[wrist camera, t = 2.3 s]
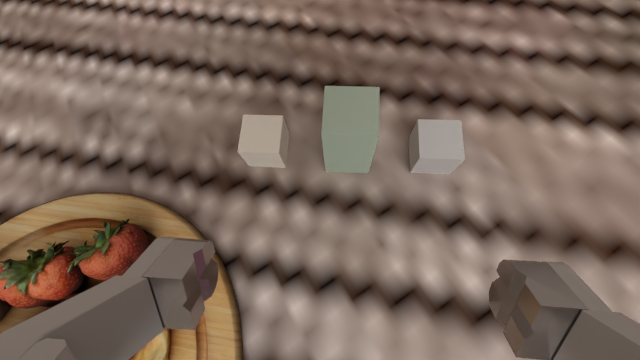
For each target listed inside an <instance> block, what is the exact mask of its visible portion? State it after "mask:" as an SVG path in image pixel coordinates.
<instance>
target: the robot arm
mask: <svg viewBox="0 0 640 360" xmlns="http://www.w3.org/2000/svg"><path fill="white" fill-rule="evenodd" d="M214 253H215V249H214V244H213V242H211V241H210V240H199V239H187V238H173V237H159V238H156V239H155V240H154V241H153V242H152V244H151V245H150V246H149V247H148V248H147V249H146V250H145V251H144V252H143V253H142V254H141V256H140V257H139V258H138V259H137V260H136V261H135V262H134V263H133V264H132V265H131V267H130V268H129V269H128V270H127V271H126V272H125V273H124V274H123V275H122V276H115V277H113V278H110V279H108V280H106V281H104V282H102V283H100V284H98V285H96V286H94V287H92V288H90V289H88V290H86V291H84V292H82V293H80V294H78V295H76V296H74V297H72V298H70V299H68V300H66V301H64V302H62V303H60V304H58V305H56V306H54V307H52V308H50V309H48V310H46V311H44V312H42V313H40V314H38V315H36V316H34V317H32V318H30V319H28V320H26V321H24V322H22V323H20V324H18V325H16V326H14V327H12V328H10V329H8V330H6V331H4V332H2V333H1V334H0V360H128V359H130V358H131V357H132V356H133V355H134V354H136V353H137V352H138V351H139V350H140V349H142V348H143V347H144V346H145V345H146V344H148V343H149V342H150V341H151V340H152V339H154V338H155V337H156V336H157V335H159V334H160V333H161V332H162V331H163V330H164V329H163V328H167V329H186V330H195V328H196V326H197V325H198V323H199V321H200V319H201V317H202V315H203V313H204V311H205V305H204V301H206V300H207V299H209V298H210V297H211V296H212V295H213V293H214V291H215V288H216V285H217V281H218V265H217V263H216V262H215V261H214V260H213V259H212V256H213V255H214ZM496 271H497V273H498V274H499V276H500V277H499V278H498V279H496V280H495V281H494V282H492V284H491V287H490V290H489V302H490V306H491V310H492V312H493V314H494V316H495V318H496V319H498V320H499V321H500V322H501V323H503V324H504V325H505V329H504V332H503V333H504V335H505V337H506V339H507V341H508V343H509V345H510V346H511V348H512V350H513V352H514V354H515V356H516V357H522V358H531V359H540V360H640V324H639V323H637V322H635V321H634V320H632V319H630V318H628V317H626V316H625V315H623V314H621V313H618V312H612V311H611V310H610V309H609V308H608V307H607V305H606V304H605V303H604V302H603V301H602V300H601V299H600V298H599V297H598V296H597V295H596V294H595V293H594V292H593V291H592V290H591V289H590V288H589V287H588V285H587V284H586V283H585V282H584V281H583V280H582V279H581V278H580V277H579V276H578V275H577V274H576V273H575V272H574V271H573V270H572V269H571V268H570V266H568V265H566V264H565V263H563V262H543V261H542V262H535V261H518V260H502V261H501V262H500V263H499V265H498V268H497V270H496Z"/></svg>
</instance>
